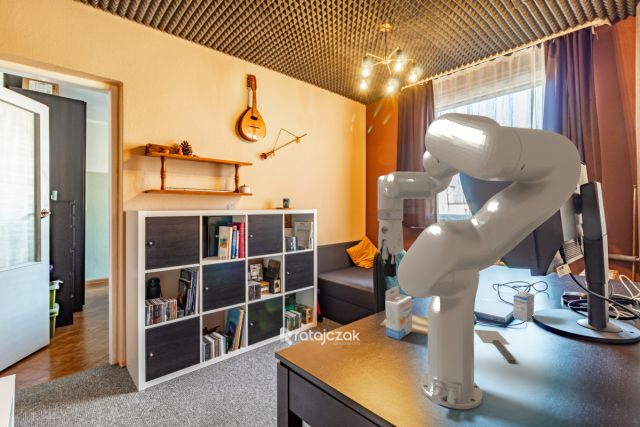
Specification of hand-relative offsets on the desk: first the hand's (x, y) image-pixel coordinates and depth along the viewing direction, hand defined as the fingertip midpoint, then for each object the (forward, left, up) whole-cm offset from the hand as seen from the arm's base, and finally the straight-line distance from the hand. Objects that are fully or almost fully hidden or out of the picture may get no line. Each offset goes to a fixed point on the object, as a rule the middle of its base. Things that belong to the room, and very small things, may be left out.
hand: (390, 276), depth 90 cm
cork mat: (+19, 0, -21) cm, 28 cm away
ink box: (+8, 0, -21) cm, 22 cm away
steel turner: (+16, -27, -21) cm, 38 cm away
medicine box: (+46, -35, -21) cm, 61 cm away
